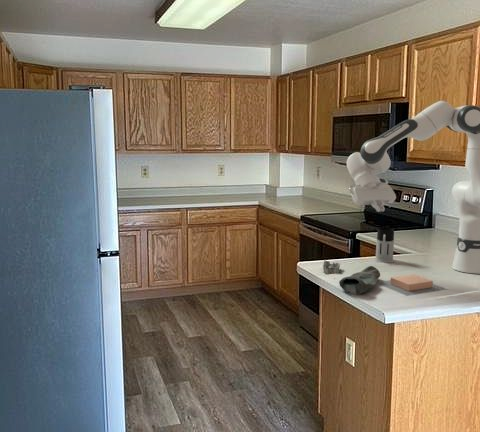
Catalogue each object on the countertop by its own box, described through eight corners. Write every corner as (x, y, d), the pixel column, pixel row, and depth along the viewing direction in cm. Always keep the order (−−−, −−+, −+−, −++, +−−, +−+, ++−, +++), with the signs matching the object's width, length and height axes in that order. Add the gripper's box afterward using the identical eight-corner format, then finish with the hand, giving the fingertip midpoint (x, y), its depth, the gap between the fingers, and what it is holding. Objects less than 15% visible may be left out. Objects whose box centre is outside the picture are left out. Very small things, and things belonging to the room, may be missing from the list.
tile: (414, 274, 204) (433, 281, 195) (413, 280, 204) (432, 287, 195) (390, 277, 199) (408, 284, 190) (390, 284, 199) (408, 291, 190)
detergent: (365, 298, 184) (392, 281, 203) (364, 279, 183) (392, 264, 202) (333, 293, 192) (362, 278, 212) (332, 275, 192) (361, 261, 211)
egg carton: (324, 267, 226) (324, 259, 226) (340, 269, 224) (341, 260, 224) (321, 273, 216) (321, 264, 216) (338, 275, 214) (339, 265, 214)
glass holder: (394, 258, 242) (396, 228, 240) (392, 266, 229) (394, 233, 226) (375, 257, 245) (377, 226, 243) (372, 264, 232) (374, 232, 229)
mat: (413, 278, 210) (413, 276, 210) (447, 290, 194) (447, 289, 194) (374, 283, 202) (374, 282, 202) (406, 297, 186) (406, 295, 185)
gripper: (351, 181, 211) (364, 207, 204) (389, 179, 220) (404, 205, 212) (344, 190, 216) (357, 216, 209) (382, 188, 224) (396, 213, 217)
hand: (381, 210), depth 211 cm, fingers closed
